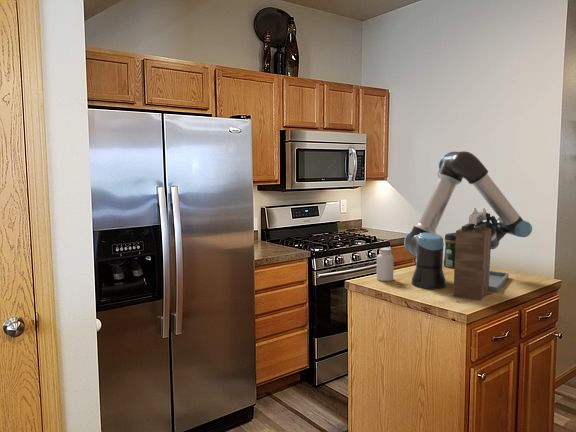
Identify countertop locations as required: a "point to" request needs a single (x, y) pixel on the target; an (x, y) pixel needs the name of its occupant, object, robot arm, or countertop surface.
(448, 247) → the coffee jar
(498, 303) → the countertop surface
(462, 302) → the countertop surface
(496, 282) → the slate tray
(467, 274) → the walnut stand
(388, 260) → the pill bottle
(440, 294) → the countertop surface
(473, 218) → the steel bar
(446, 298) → the countertop surface
